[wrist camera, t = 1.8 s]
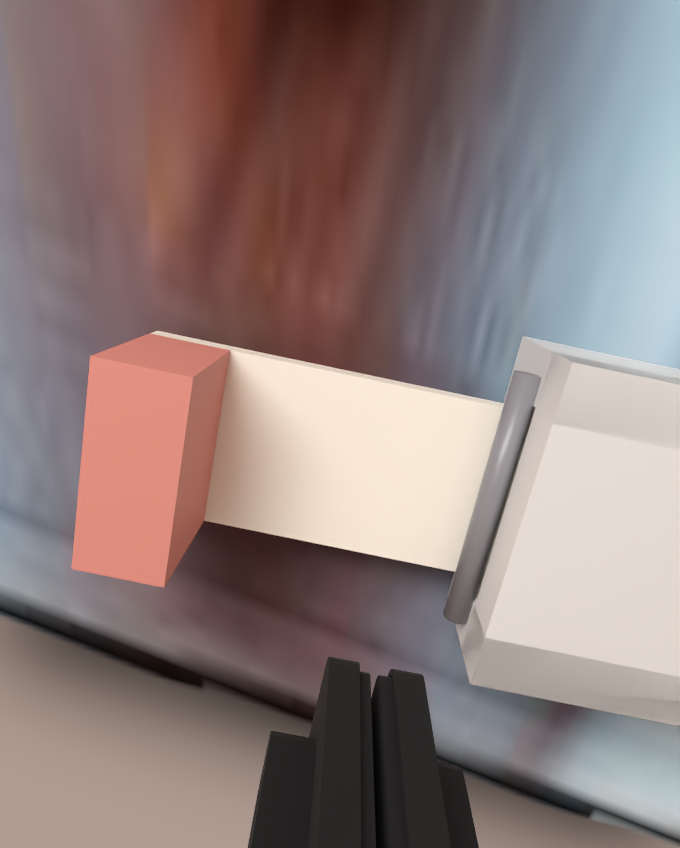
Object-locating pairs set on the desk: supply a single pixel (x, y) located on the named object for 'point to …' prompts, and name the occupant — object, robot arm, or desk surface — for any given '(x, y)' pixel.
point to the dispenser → (578, 537)
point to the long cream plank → (270, 457)
